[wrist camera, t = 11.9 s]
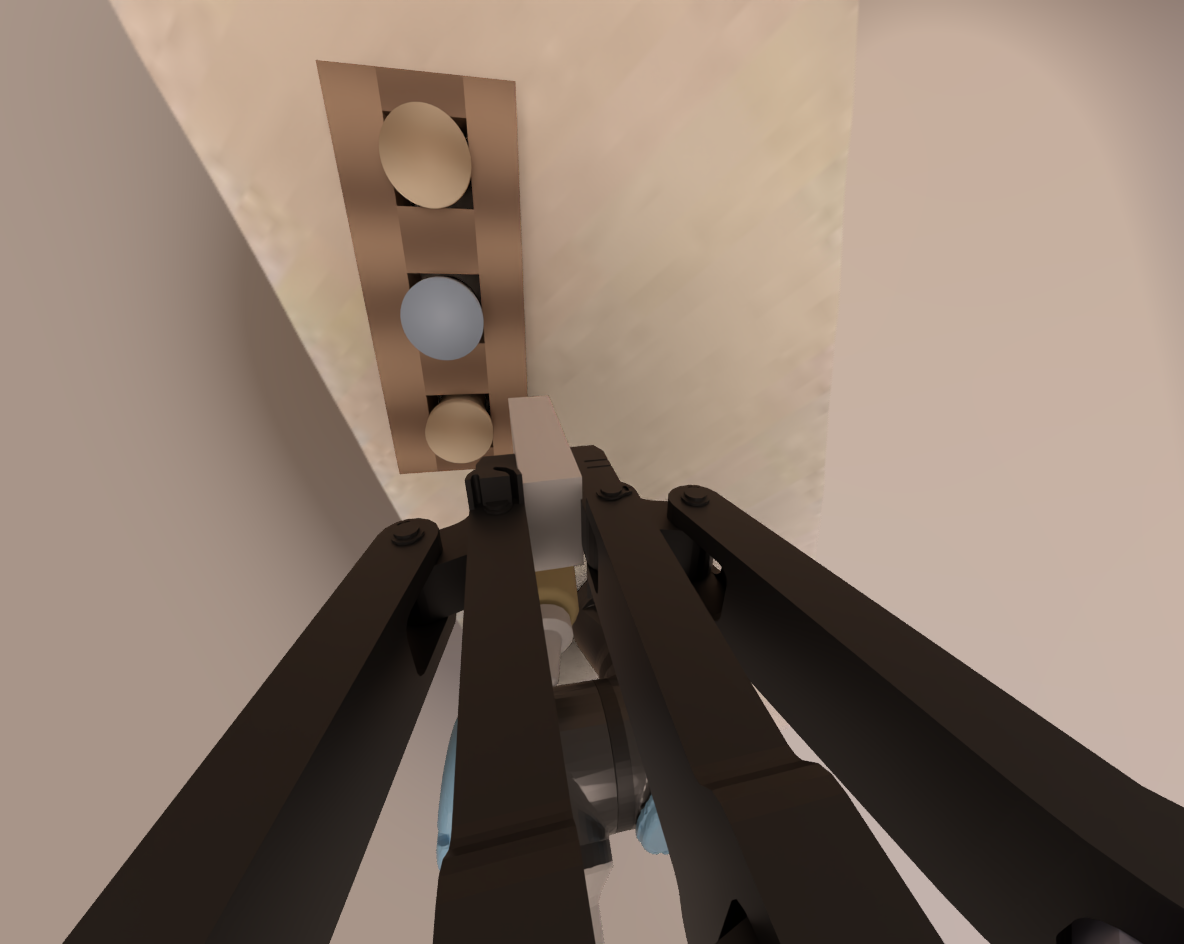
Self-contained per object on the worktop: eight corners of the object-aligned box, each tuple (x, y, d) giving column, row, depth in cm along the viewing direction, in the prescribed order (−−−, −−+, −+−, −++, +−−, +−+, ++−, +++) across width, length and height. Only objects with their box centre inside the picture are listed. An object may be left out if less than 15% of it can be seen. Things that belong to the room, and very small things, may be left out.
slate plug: (486, 335, 33) (486, 359, 27) (422, 336, 32) (407, 361, 26) (480, 269, 31) (479, 278, 25) (411, 267, 30) (393, 277, 24)
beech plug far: (493, 425, 38) (495, 461, 32) (439, 427, 37) (430, 465, 31) (489, 373, 36) (490, 402, 30) (431, 375, 35) (420, 404, 29)
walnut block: (524, 435, 41) (530, 465, 36) (411, 441, 39) (399, 474, 34) (510, 107, 29) (515, 81, 24) (347, 92, 27) (315, 60, 22)
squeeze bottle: (506, 488, 43) (518, 632, 28) (578, 510, 46) (625, 651, 31) (477, 551, 46) (474, 713, 31) (548, 567, 49) (576, 722, 34)
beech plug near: (476, 213, 31) (474, 210, 25) (407, 210, 30) (388, 206, 24) (470, 132, 28) (466, 106, 22) (395, 126, 28) (370, 97, 22)
